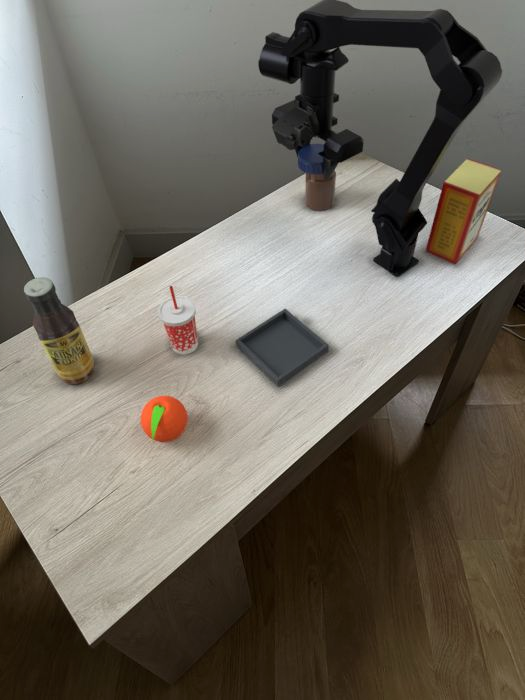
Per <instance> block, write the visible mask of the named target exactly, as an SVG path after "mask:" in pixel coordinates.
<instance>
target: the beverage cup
mask: <svg viewBox="0 0 525 700" xmlns="http://www.w3.org/2000/svg"><path fill="white" fill-rule="evenodd" d="M169 291H170V295H171V296H170V297H168V298H165V299H164V300H163V301H162V302H161V303H160V304H159V305H158V308H157V316H158V318H159V320H160V321H161V322H162V324H163V327H164V329H165V332H166V336H167V337H168V341H169V343H170V345H171V348H172V350H173V352H175V353H176V354H178V355H189V354H191V353H193V352H194V351H195V350H197V348H198V346H199V338H198V329H197V321H196V313H197V311H196V310H197V309H196V304H195V302H194V301H193V299H192V298H190V297H188V296H185V295H176V294H175V291H174V287H173V285H170V286H169Z"/></svg>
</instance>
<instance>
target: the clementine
mask: <svg viewBox="0 0 525 700" xmlns="http://www.w3.org/2000/svg"><path fill="white" fill-rule="evenodd" d="M140 425H141V428H142V431H143V432H144V434H145V435H146V436H147V437H148V438H150V439H151V440H152V442H153V443H154V442H159V443H169V442H173V441H174V440H177V439H178V438H179V437H180V436H182V434H183V433H184V432H185V430H186V428H187V425H188V411H187V409H186V407H185V405H184V404H183V403H182V402H181V400H179V399H177V398H175V397H174V396H170V395H159V396H156V397H154V398H151V399H150V400H149V401H148V402H146V404H145V405H144V407H143V408H142V410H141V414H140Z"/></svg>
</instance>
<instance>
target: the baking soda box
mask: <svg viewBox="0 0 525 700" xmlns="http://www.w3.org/2000/svg"><path fill="white" fill-rule="evenodd" d="M502 170H503V169H500V168H498V167H494V166H492V165H489V164H485V163H483V162H479V161H477V160H474V159H470V158H466V159H465V160H464V161H463V162H462V163H461V164H460V165H459V166H458V167H457V168H456V169H455V170H454V172H452V174H450V175H449V177H448V178H447V179H445V181H443V183H442V187H441V189H440V190H441V191H440V195H439V198H438V202H437V206H436V209H435V212H434V213H435V214H434V217H433V221H432V225H431V229H430V232H429V236H428V240H427V244H426V246H425V247H426V248H425V252H426V253H428V254H430V255H432V256H435V257H438V258H440V259H441V260H444V261H447V262H449V263H451V264H453V265H457V264H458V263H459V262H460V260H461V259H462V258H463V257H464V256H465V254H466V253H467V252H468V251H469V250H470V248H471V247H472V246H473V245H474V244H475V243H476V241H477V240H478V238H479V235H480V231H481V230H482V227H483V223H484V221H485V218H486V215H487V213H488V210H489V207H490V204H491V202H492V198H493V196H494V193H495V191H496V187H497V185H498V182H499V179H500V178H501V177H500V176H501V174H502Z"/></svg>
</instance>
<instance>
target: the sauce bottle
mask: <svg viewBox="0 0 525 700" xmlns="http://www.w3.org/2000/svg"><path fill="white" fill-rule="evenodd" d="M56 290H57V289H56V286H55V284H54V282H53V281H52V279H51V278H49V277H45V276H40V277H39V276H38V277H35V278H33V279H30V280H29V281H28V282H27V283H25V285H24V287H23V292H24V295H25V298H26V299H27V301H29V302H30V304H31V305H32V308H33V311H34V316H33V320H32V326H33V329H34V330H35V332H36V334H37V337H38V340H39V342H40V344H41V345H42V348H43V349H44V352H45V353H46V355H47V357H48V359H49V361H50V363H51V365H52V367H53V369H54V371H55V374H56V375H57V376H58V377H59V379H60V380H61V381H62V382H63V383H65V384H68V385H79V384H82V383H84V382H86V381H87V380H88V379H90V378H91V377H92V376H93V374H94V373H95V361H94V357H93V354H92V353H91V351H90V348H89V347H90V346H89V345H88V342H87V339H86V337H85V335H84V333H83V330H82V328H81V326H80V324H79V322H78V320H77V319H76V315H75V312H74V310H73V309H71V308H69V307H68V306H67V305H65V304H63V303H62V301H61V300H60V298H59V296H58V294H57V292H56Z"/></svg>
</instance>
